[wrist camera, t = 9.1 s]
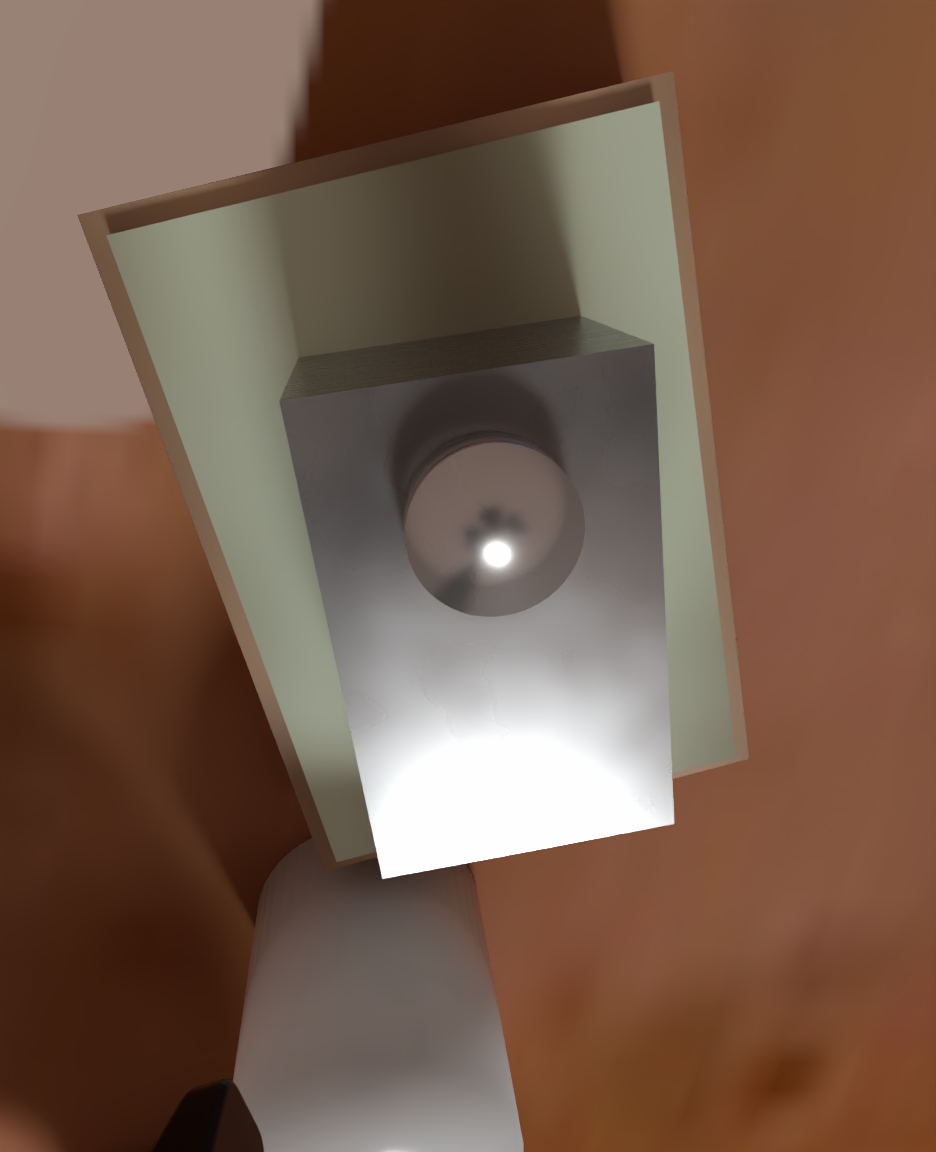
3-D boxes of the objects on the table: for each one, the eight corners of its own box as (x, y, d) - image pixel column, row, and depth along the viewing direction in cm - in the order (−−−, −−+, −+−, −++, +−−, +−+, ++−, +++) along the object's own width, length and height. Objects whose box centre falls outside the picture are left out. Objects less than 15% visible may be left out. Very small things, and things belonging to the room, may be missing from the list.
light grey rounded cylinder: (295, 1015, 24) (274, 1296, 18) (226, 856, 22) (174, 1114, 16) (497, 961, 25) (548, 1220, 18) (450, 797, 22) (489, 1028, 16)
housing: (377, 744, 18) (384, 914, 13) (298, 357, 15) (273, 412, 10) (609, 702, 18) (691, 855, 14) (580, 315, 15) (674, 351, 11)
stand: (328, 798, 22) (324, 880, 19) (120, 217, 16) (71, 214, 13) (704, 699, 22) (754, 766, 19) (626, 94, 16) (679, 68, 14)
